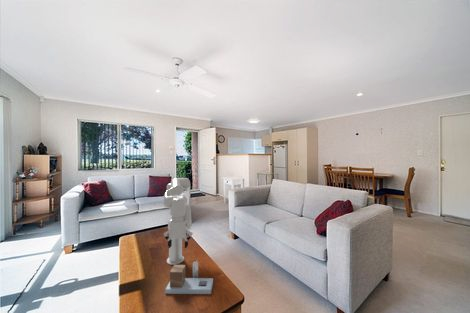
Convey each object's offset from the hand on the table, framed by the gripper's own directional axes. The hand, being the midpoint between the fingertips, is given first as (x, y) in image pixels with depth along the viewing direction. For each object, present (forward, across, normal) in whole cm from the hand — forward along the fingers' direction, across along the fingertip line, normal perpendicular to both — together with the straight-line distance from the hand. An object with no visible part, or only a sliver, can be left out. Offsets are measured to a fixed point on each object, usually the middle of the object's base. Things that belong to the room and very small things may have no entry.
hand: (178, 247), depth 109 cm
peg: (+24, -8, -9) cm, 27 cm away
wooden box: (+22, 0, 0) cm, 22 cm away
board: (+24, -8, 0) cm, 25 cm away
